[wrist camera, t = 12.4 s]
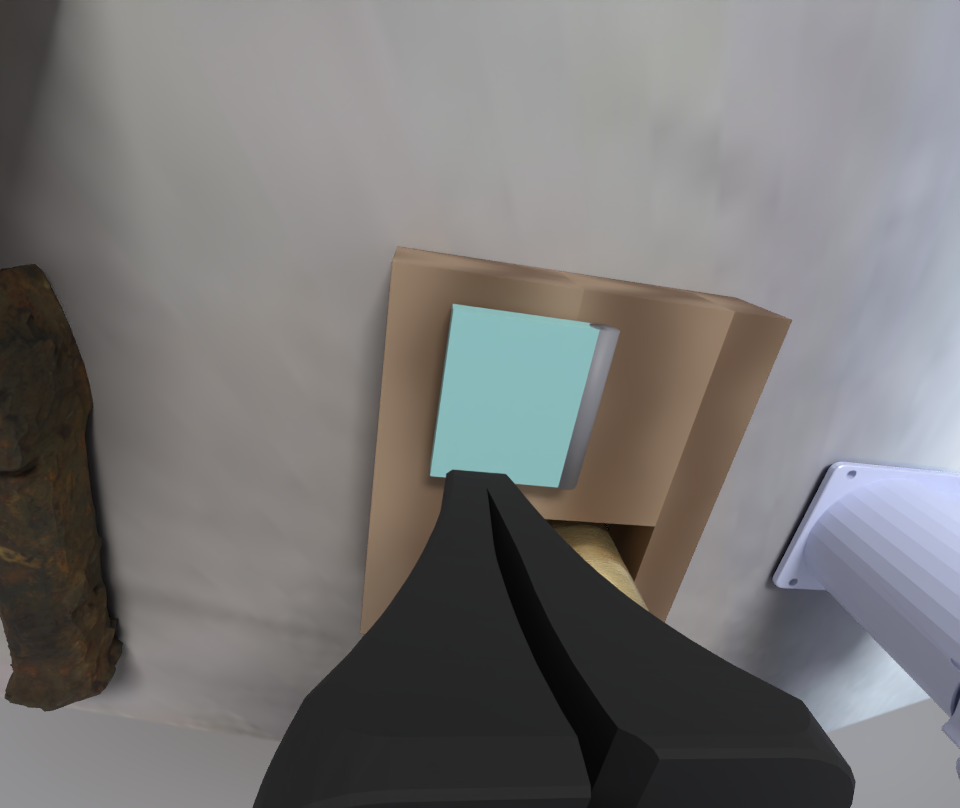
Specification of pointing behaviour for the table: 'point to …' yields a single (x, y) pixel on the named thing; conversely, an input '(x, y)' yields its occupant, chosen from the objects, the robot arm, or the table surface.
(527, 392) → the teal flat square block
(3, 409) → the dark brown log
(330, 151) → the table surface
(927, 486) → the robot arm
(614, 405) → the block
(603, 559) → the peg
